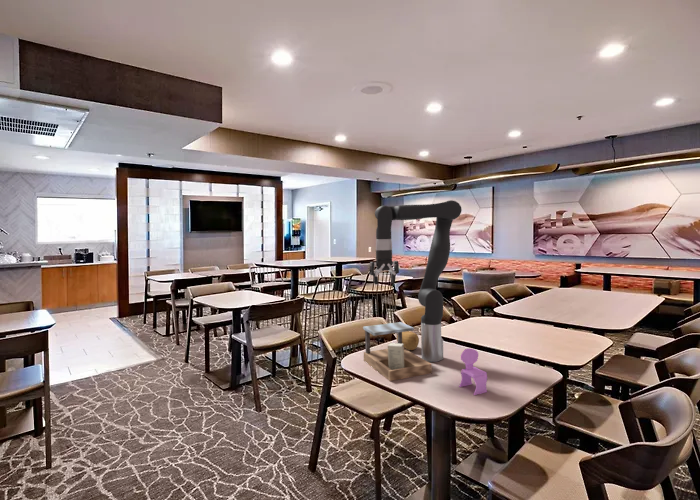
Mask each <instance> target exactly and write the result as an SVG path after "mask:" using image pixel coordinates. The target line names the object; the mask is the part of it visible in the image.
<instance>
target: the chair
mask: <svg viewBox="0 0 700 500" xmlns="http://www.w3.org/2000/svg"><path fill="white" fill-rule="evenodd" d="M478 359H479V352H478V351H477V350H476V349H474V348H469V347H468V348H465V349H464V350H463V351H462V352H461V354H460V360H461V362H463V363H464V364H465V368H462V369H461V371H460V375H461V380H460V383H459V386H458V388H461V387H467V386H470V385H471V386H472V385H473V383H472V382H473V381H474V383H475V390H474V392H473V396H477V395H481V394H484V393H488V389H487V381H488V374H487V373H488V372H487V371H485V370H482V369H480V368H478V367H476V366H474V364H475V363H476V362H478ZM472 379H473V380H472Z"/></svg>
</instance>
